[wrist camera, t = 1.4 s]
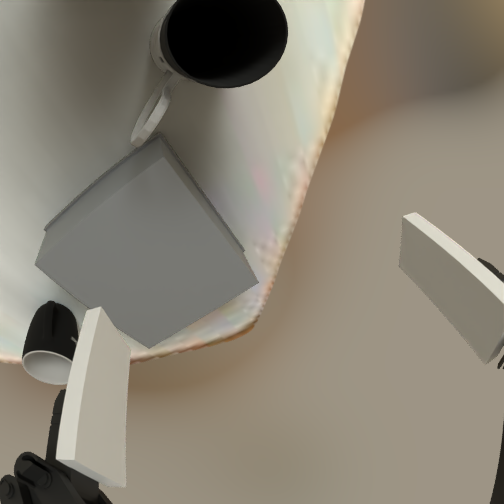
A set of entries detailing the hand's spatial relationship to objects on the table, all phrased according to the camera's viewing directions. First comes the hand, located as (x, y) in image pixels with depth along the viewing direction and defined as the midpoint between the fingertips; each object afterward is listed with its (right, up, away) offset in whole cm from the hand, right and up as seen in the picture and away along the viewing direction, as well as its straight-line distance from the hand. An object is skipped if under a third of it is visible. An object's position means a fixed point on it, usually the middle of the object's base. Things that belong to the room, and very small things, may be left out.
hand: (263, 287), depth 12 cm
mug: (-31, -7, +27) cm, 42 cm away
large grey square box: (-14, +4, +26) cm, 30 cm away
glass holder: (-8, +21, +14) cm, 27 cm away
